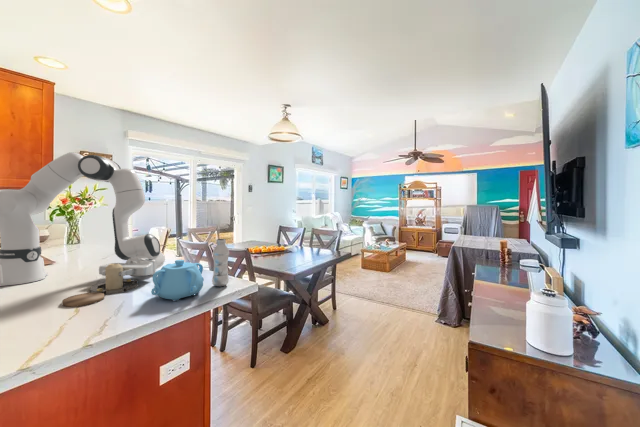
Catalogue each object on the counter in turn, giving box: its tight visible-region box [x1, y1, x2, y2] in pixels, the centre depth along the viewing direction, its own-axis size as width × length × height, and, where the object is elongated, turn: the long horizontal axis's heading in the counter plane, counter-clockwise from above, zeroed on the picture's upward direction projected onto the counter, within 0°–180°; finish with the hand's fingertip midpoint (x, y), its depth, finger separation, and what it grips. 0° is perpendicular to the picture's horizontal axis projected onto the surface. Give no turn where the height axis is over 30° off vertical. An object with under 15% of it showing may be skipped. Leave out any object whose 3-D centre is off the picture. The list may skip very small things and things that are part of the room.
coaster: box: [61, 292, 105, 308], centre depth 93 cm, size 11×11×1 cm
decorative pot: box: [150, 259, 204, 301], centre depth 101 cm, size 16×16×14 cm
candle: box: [104, 262, 124, 290], centre depth 107 cm, size 6×6×10 cm
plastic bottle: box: [211, 238, 230, 287], centre depth 113 cm, size 6×7×20 cm
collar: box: [89, 278, 139, 296], centre depth 107 cm, size 15×15×2 cm
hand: (112, 273), depth 106 cm, fingers closed on candle, 5 cm apart
